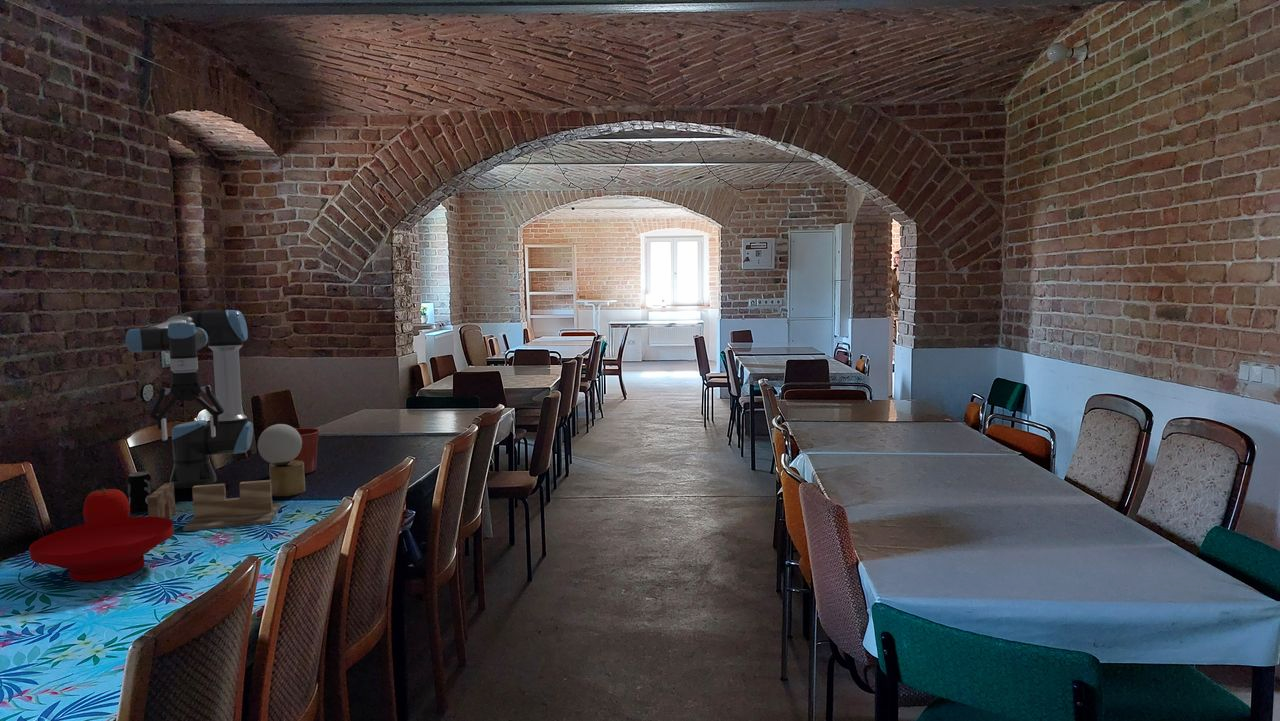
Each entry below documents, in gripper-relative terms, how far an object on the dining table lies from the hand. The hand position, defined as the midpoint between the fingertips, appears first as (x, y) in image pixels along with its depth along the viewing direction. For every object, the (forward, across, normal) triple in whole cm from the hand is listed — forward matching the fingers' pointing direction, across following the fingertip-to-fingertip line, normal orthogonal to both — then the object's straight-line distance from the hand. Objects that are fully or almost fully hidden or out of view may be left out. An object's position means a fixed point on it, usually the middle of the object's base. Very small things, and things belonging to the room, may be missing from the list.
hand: (189, 438), depth 244 cm
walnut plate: (+25, -9, -2) cm, 27 cm away
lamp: (+26, +24, +20) cm, 40 cm away
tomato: (+26, -21, -10) cm, 35 cm away
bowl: (+26, -10, -47) cm, 54 cm away
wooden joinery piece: (+25, +12, -6) cm, 29 cm away
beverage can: (+26, -19, +17) cm, 36 cm away
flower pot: (+26, +25, +55) cm, 66 cm away
